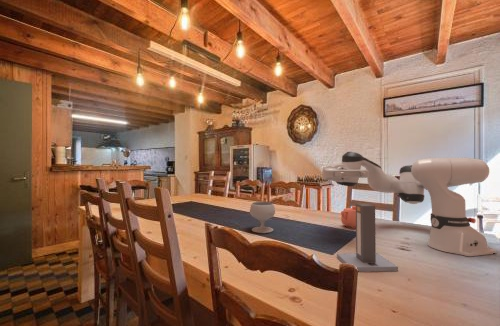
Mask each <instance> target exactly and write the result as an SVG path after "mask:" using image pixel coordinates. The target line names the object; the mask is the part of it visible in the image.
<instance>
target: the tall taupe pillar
mask: <svg viewBox="0 0 500 326" xmlns="http://www.w3.org/2000/svg"><path fill="white" fill-rule="evenodd" d="M355 206H356V229H355V253H356V257H357V258H358V259H359V260H361V261H362V262H363V263H371V262H376V253H377V252H376V246H377V245H376V205H373V204H370V203H355Z"/></svg>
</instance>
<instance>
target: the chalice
mask: <svg viewBox="0 0 500 326" xmlns="http://www.w3.org/2000/svg"><path fill="white" fill-rule="evenodd" d="M249 213H250V216H251V217H253V218H254V219H256V220H258V221H259V222H260V226H255V227H253V228H251V232H253V233H258V234H267V233H272V232H274V228H273V227H270V226H265V222H266V221H267V220H270V219H271V218H273V217H274V216H275V214H276V209H275V205H274V203H273V202H271V201H270V202H269V201H255V202H252V203H251V205H250V208H249Z"/></svg>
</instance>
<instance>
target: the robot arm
mask: <svg viewBox="0 0 500 326" xmlns="http://www.w3.org/2000/svg"><path fill="white" fill-rule="evenodd" d="M362 167H364V168H365V169H361V168H362ZM489 175H490V167H489V165H488V164H487V162H485V161H484V160H483V159H478V158H471V157H429V158H428V157H427V158H421V159H416V160H415V161H414V162H413V164H409V165H403V166H402V167H400V169H399V179H398V178H397V177H396V176H394V175H391V174H389V173H385V172H384V170H383V169H382V166H380V165H379V164H377V163H376V162H374V161H373V160H370V159H369V158H366V157H364V156H363V155H362V154H360V153H358V152H356V151H346V152H345V153H343V155H342V156H341V164H333V163H332V164H328V165H326V166H323V167H322V180H324V181H332V182H335V183H336V184H337V185H339V186H340V185H341V186H344V187H345V186H346V187H354V186H356V185H357V184H359V179H361V178H362V179H363V178H364V179H365V178H367V184H368V186H369V188H371V189H372V191H376V192H380V193H384V194H385V193H386V194H389V193H397V197H398V198H400V199H401V201H403V202H405V203H408V204H411V205H417V204H420V203H423V202H424V200H425V194H424V193H425V190H426V191H427V192H428V194H429V196H430V203H431V212H430V224H431V226H430V227H431V228H430V232H429V233H430V234H429V238H428V242H427V246H429V247H430V248H432V249H435V250H438V251H442V252H446V253H451V254H456V255H462V256H466V257H476V256H477V257H478V256H484V255H493V253H495V254H496V253H497V251H496V250H495V249H494V248H491V247H488V241H487V238H486V237H485V235H483V234H482V233H480V231H478V230H477V229H475V228H473V227H472V226H471V224H470V223H472V224H475V223H476V222H477V220H476V218H474V217H467V216H466V199H465V198H464V196H462V195H461V194H460V193H458V192H456V191H453V190H451V189H449V188H450V187H457V186H462V185H469V184H476V183H483V182H484V181H486V179H487V178H488V177H489Z"/></svg>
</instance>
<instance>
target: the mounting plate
mask: <svg viewBox="0 0 500 326" xmlns="http://www.w3.org/2000/svg"><path fill="white" fill-rule="evenodd" d="M336 258H337V259H338V260H339V261H340V260H341V261H340V262H341V263H342V264H343V263H348V264H353V265H355V266H356V267H357V269H358V271H359V272H360V273H361V272H365V273H366V272H399V266H398V265H396V264H395V263H393V262H392V261H390V260H389V259H387V258H385V257H384V256H383V255H381V254H380V253H378V252H376V262H371V263H363V262H362V261H361V260H359V259H358V258H357V257H356V252H354V253H351V252H350V253H347V252H346V253H336ZM359 272H358V273H359Z"/></svg>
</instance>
